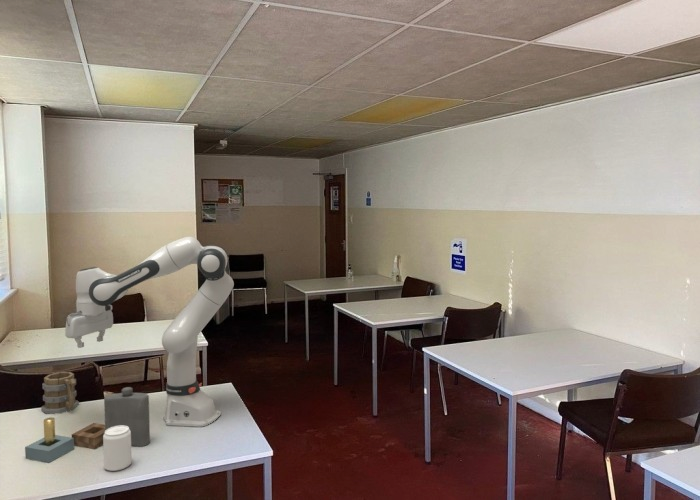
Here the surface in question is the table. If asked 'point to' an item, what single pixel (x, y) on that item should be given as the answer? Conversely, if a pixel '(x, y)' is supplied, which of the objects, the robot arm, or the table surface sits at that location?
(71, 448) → the slate socket block
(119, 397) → the flask
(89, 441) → the walnut mount
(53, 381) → the tankard
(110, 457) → the beverage can
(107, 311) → the robot arm
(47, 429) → the brass peg
